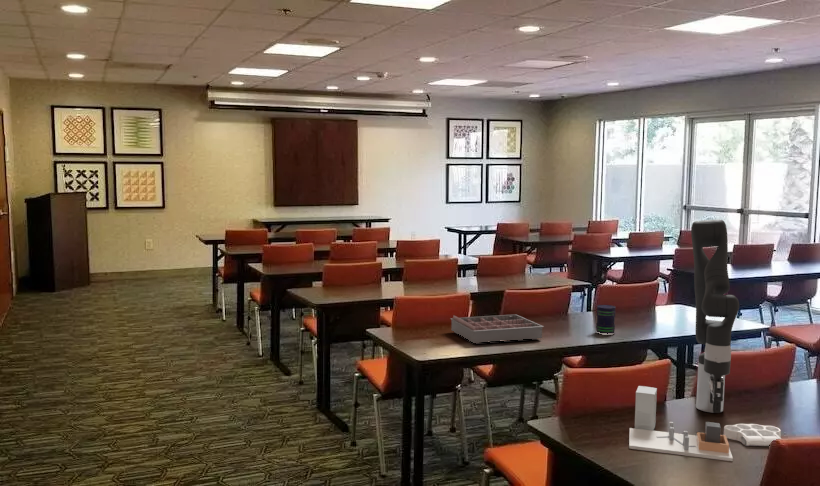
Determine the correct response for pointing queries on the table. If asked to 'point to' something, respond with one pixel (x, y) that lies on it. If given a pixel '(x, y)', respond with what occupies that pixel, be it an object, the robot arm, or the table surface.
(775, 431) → the white brass knuckles
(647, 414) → the small box
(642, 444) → the board
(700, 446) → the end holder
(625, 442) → the table surface
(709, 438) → the dark grey block
